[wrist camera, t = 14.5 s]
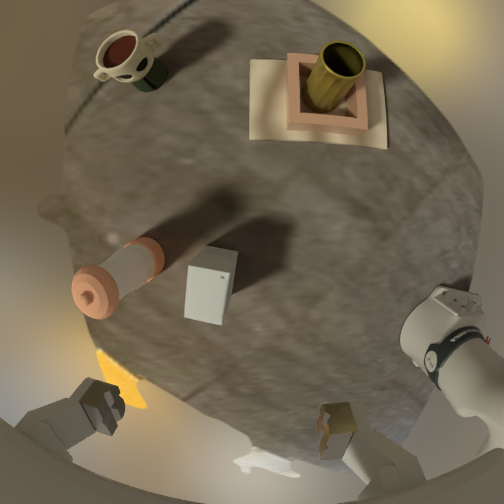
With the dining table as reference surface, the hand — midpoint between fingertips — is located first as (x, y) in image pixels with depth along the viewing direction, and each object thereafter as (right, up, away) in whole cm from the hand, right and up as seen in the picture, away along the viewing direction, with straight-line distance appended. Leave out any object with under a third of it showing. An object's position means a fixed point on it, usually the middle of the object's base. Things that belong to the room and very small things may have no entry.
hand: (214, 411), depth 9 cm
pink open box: (+12, +29, +27) cm, 42 cm away
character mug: (-16, +36, +28) cm, 48 cm away
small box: (-4, +3, +36) cm, 36 cm away
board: (+12, +30, +28) cm, 43 cm away
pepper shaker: (-17, +5, +36) cm, 40 cm away
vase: (+12, +30, +27) cm, 42 cm away
